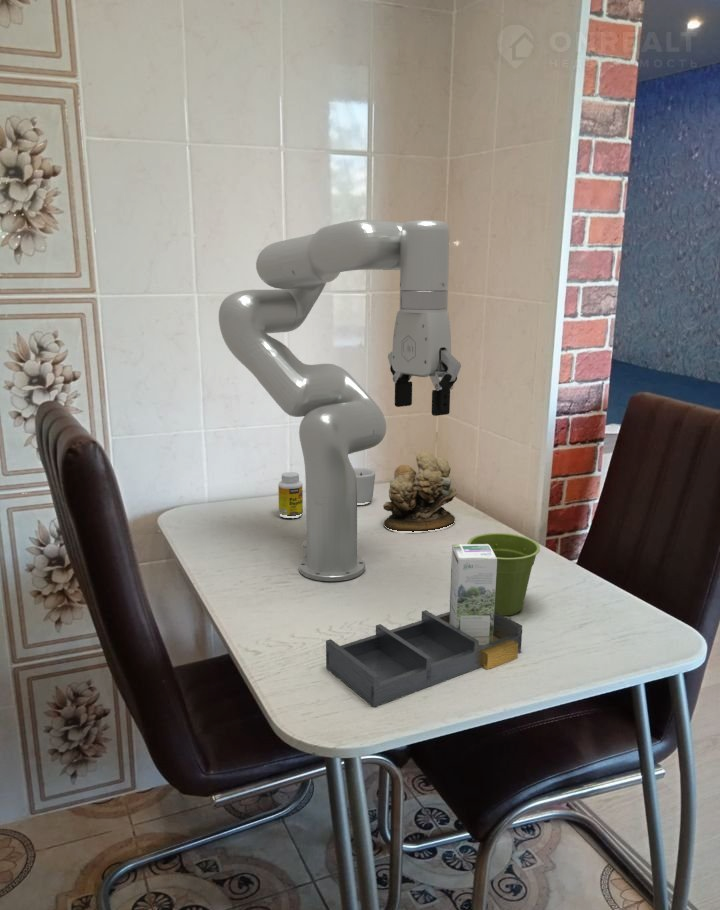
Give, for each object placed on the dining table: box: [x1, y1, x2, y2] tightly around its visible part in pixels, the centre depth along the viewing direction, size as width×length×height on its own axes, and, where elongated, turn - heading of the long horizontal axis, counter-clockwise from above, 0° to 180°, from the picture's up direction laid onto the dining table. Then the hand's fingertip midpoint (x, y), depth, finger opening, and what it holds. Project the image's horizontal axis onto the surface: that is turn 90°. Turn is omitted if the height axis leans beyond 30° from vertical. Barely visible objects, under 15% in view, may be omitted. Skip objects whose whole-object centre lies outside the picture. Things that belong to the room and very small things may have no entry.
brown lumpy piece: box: [383, 451, 458, 532], centre depth 167 cm, size 18×12×17 cm, turn 117°
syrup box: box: [449, 543, 497, 647], centre depth 112 cm, size 6×6×14 cm
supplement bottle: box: [277, 471, 304, 516], centre depth 173 cm, size 6×6×10 cm
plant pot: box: [466, 532, 541, 617], centre depth 125 cm, size 12×12×11 cm
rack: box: [325, 609, 523, 708], centre depth 108 cm, size 13×27×4 cm, turn 124°
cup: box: [353, 467, 376, 503], centre depth 184 cm, size 11×8×8 cm
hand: (421, 410), depth 121 cm, fingers open, 9 cm apart
